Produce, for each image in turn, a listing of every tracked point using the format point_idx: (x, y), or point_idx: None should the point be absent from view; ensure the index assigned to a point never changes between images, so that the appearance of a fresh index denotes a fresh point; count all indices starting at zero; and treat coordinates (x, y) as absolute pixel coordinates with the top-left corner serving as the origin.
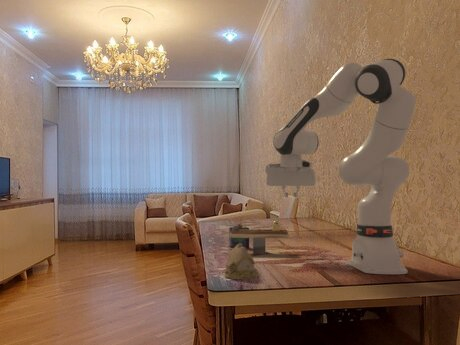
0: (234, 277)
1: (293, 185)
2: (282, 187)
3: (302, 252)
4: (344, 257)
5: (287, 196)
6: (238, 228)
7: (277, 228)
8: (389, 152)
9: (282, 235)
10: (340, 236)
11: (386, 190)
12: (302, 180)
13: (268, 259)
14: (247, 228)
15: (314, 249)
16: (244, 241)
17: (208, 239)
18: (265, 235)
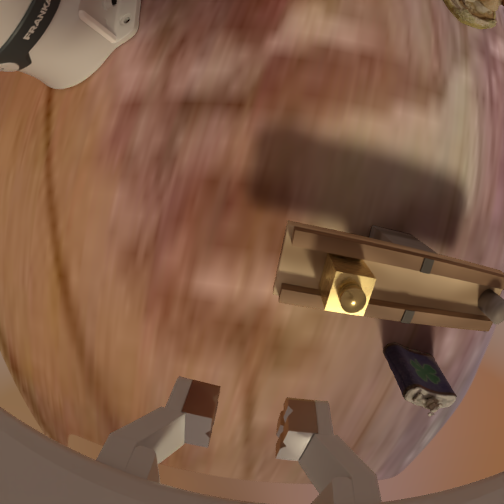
0: None
1: (198, 494)
2: (372, 487)
3: (221, 239)
4: (105, 135)
5: (295, 398)
6: (435, 391)
7: (345, 263)
8: None
9: (319, 230)
10: (86, 434)
11: None
12: (15, 496)
13: (384, 121)
14: (413, 386)
15: (165, 291)
16: (406, 357)
17: (426, 444)
18: (396, 246)
